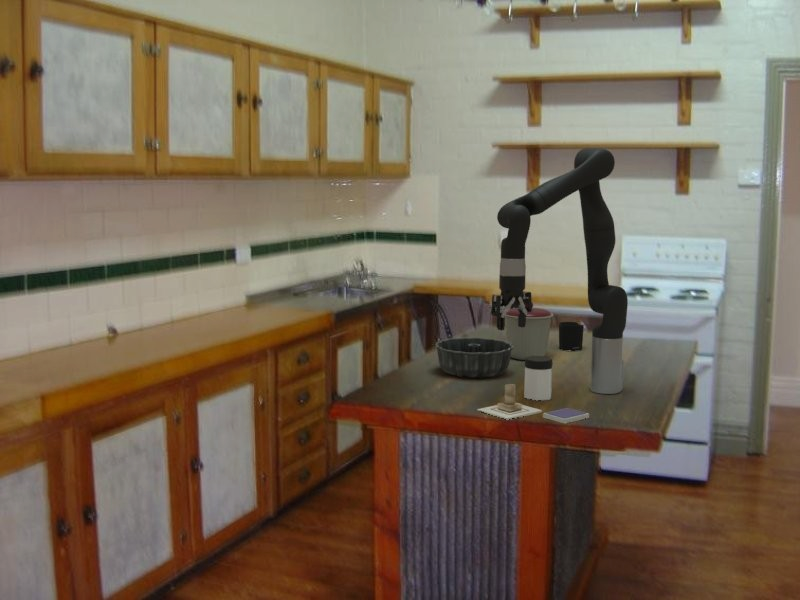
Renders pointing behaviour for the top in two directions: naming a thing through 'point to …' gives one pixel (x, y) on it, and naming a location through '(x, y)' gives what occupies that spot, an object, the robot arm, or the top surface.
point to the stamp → (510, 400)
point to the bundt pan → (474, 356)
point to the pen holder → (570, 336)
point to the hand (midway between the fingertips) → (511, 328)
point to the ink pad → (565, 415)
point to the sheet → (502, 414)
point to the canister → (528, 333)
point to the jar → (538, 378)
